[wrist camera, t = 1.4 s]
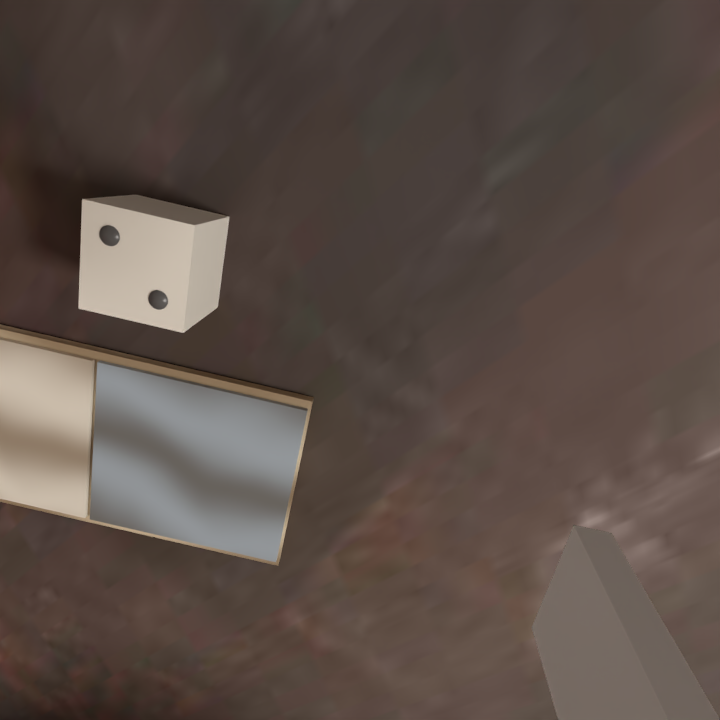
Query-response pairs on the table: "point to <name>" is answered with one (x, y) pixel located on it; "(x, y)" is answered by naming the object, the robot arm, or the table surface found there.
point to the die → (150, 260)
